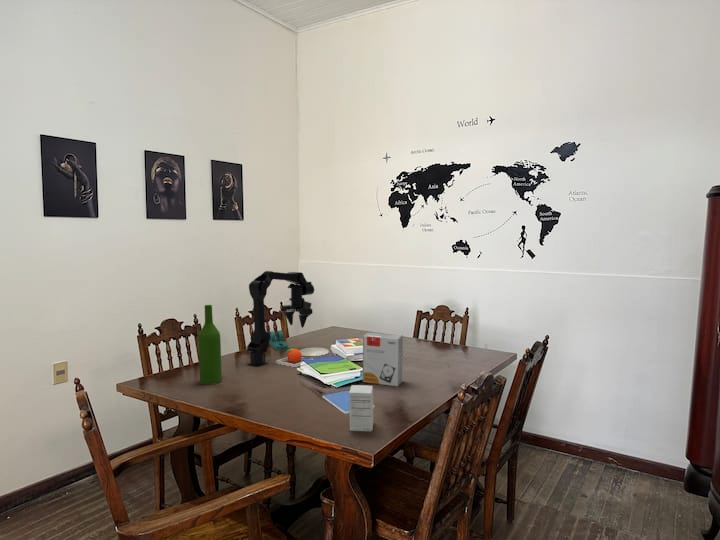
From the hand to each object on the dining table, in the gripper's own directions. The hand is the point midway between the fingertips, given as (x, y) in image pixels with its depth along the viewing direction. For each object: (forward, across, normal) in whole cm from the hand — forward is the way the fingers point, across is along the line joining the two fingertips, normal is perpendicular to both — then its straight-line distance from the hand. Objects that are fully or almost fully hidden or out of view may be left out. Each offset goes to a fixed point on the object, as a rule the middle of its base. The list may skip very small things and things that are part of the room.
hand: (296, 326), depth 247 cm
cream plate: (+14, -7, -5) cm, 16 cm away
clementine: (+14, -14, +13) cm, 24 cm away
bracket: (+14, +18, -2) cm, 23 cm away
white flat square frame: (+14, -14, +13) cm, 24 cm away
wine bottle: (+15, -9, +54) cm, 57 cm away
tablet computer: (+15, -70, +33) cm, 79 cm away
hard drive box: (+14, -64, +6) cm, 66 cm away
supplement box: (+15, -89, +45) cm, 101 cm away
